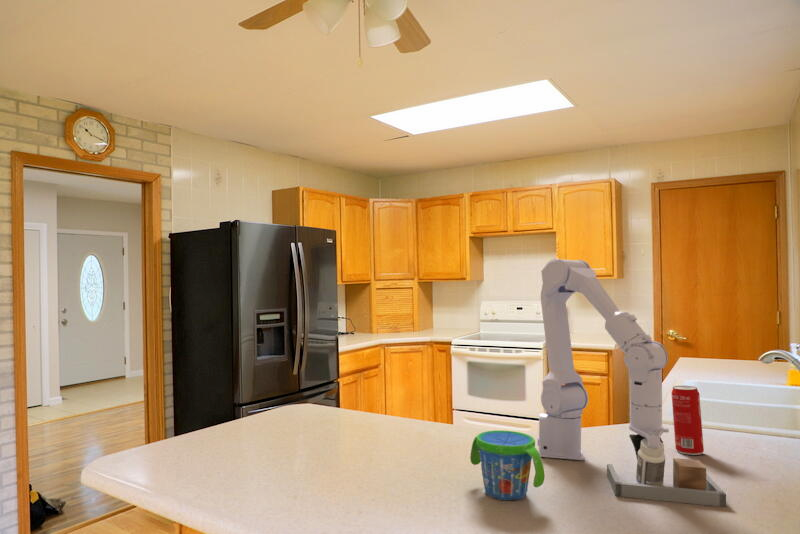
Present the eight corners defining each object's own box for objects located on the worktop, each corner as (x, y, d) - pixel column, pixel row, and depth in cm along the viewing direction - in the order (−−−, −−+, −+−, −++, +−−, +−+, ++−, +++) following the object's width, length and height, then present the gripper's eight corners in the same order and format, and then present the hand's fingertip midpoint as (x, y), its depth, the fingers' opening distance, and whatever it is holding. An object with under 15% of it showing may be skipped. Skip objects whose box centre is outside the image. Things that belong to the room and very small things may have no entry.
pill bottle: (667, 483, 101) (671, 444, 99) (655, 493, 99) (659, 454, 96) (643, 471, 105) (646, 433, 103) (630, 481, 102) (633, 442, 100)
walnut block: (678, 496, 97) (678, 465, 97) (673, 487, 101) (673, 458, 102) (706, 499, 96) (706, 468, 96) (699, 489, 100) (699, 460, 100)
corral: (615, 495, 97) (615, 483, 97) (606, 475, 107) (606, 464, 107) (726, 507, 92) (726, 494, 92) (705, 484, 103) (705, 472, 103)
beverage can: (707, 457, 120) (707, 390, 120) (676, 454, 121) (676, 388, 122) (698, 449, 126) (698, 385, 126) (668, 447, 127) (668, 383, 127)
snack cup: (455, 485, 101) (456, 431, 101) (497, 475, 106) (497, 424, 106) (514, 516, 87) (514, 453, 88) (558, 503, 93) (558, 444, 93)
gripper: (678, 413, 97) (678, 489, 96) (659, 397, 111) (659, 463, 110) (636, 411, 98) (636, 485, 98) (622, 395, 112) (622, 460, 112)
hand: (645, 473), depth 104 cm, fingers closed, pressing on pill bottle
